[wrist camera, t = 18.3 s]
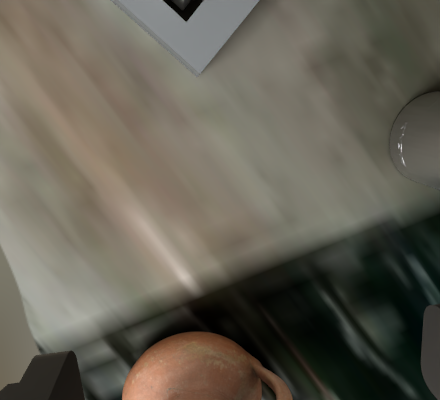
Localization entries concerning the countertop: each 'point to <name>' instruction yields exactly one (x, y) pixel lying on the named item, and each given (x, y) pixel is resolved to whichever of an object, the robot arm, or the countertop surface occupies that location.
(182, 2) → the plug
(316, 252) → the countertop surface
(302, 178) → the countertop surface
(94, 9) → the countertop surface
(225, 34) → the socket block
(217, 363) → the ceramic jug
